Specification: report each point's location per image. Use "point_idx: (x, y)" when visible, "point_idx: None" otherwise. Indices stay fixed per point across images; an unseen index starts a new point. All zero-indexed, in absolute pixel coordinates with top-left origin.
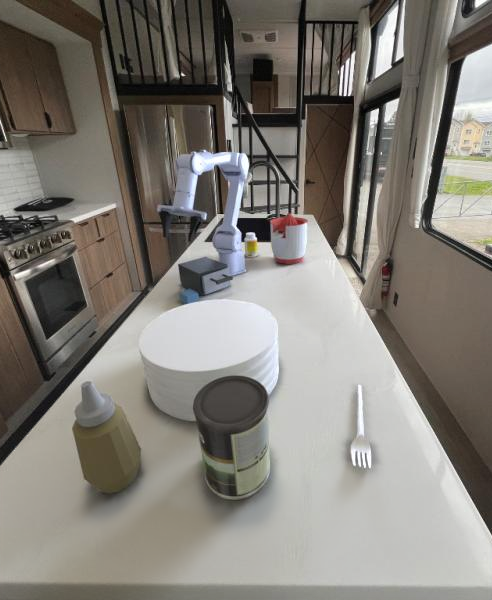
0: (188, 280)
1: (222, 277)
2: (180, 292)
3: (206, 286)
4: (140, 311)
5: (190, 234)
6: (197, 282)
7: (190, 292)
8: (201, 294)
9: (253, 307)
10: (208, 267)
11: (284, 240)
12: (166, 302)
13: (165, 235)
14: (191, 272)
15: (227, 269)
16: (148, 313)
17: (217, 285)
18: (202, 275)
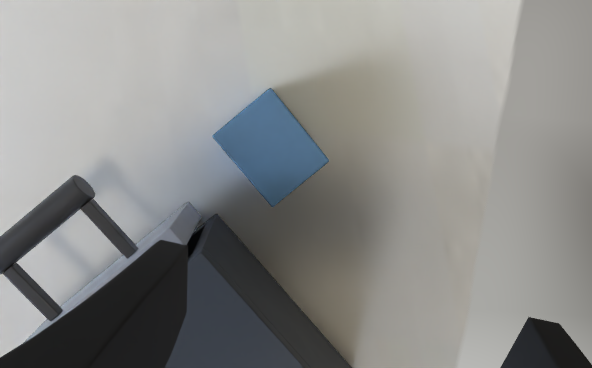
0: (299, 327)
1: (69, 304)
2: (319, 152)
3: (171, 218)
4: (508, 66)
5: (120, 291)
6: (228, 254)
7: (258, 145)
8: (215, 216)
9: None
10: None
11: None
12: (395, 156)
13: (536, 331)
14: (266, 318)
15: None
16: (463, 37)
17: (115, 263)
18: None
